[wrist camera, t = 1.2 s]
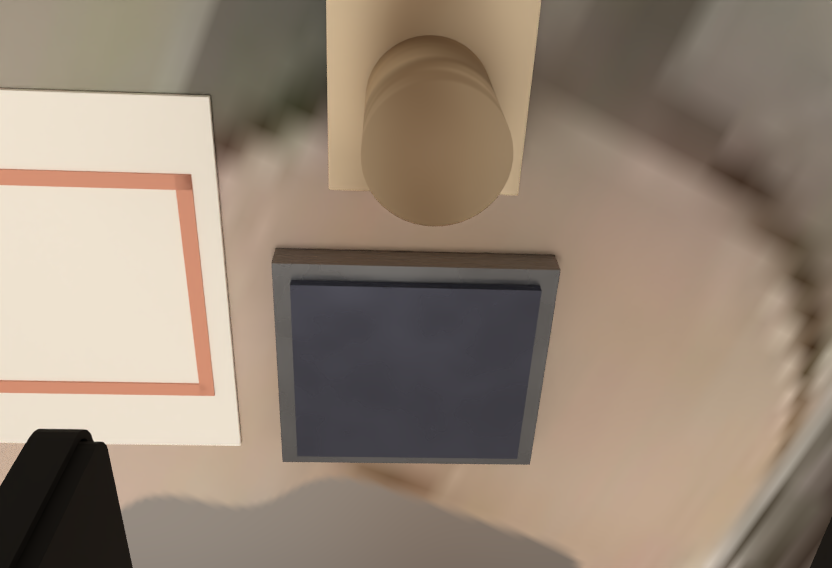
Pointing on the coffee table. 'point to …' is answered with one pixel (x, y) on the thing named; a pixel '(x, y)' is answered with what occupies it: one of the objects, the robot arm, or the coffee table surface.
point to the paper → (113, 270)
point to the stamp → (429, 102)
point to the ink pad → (411, 354)
